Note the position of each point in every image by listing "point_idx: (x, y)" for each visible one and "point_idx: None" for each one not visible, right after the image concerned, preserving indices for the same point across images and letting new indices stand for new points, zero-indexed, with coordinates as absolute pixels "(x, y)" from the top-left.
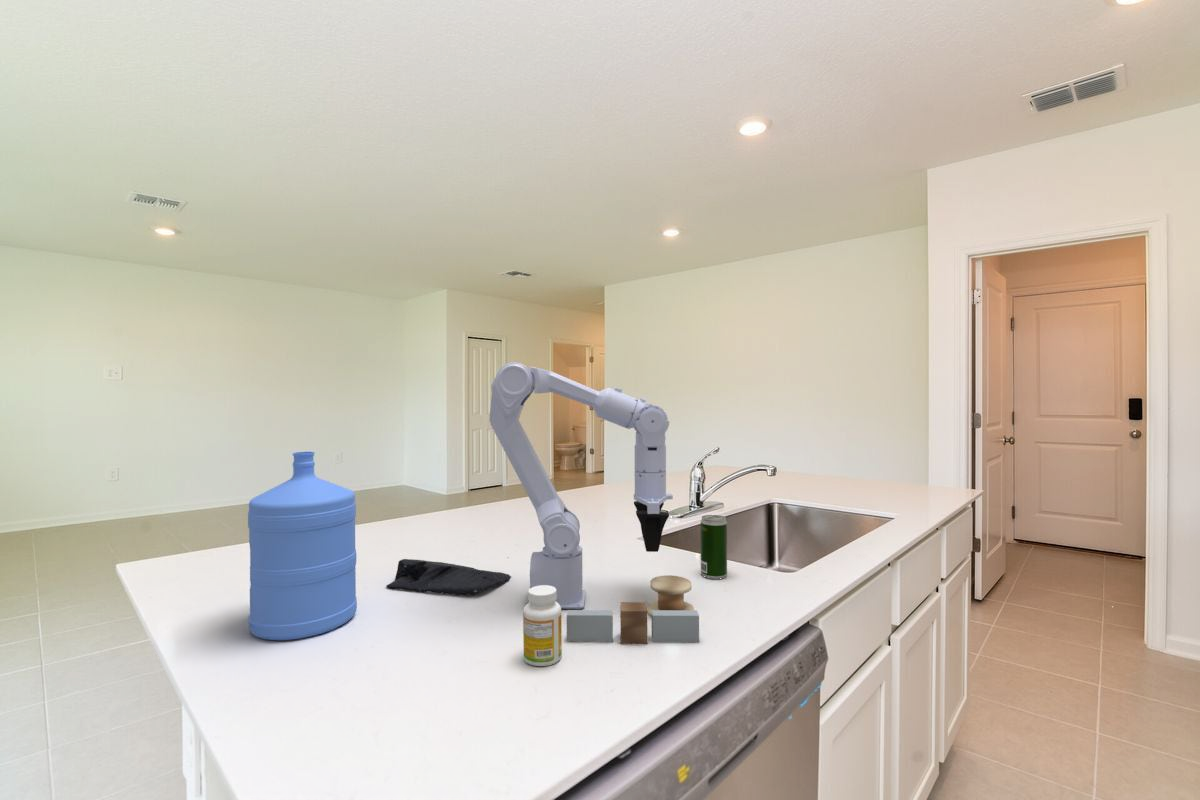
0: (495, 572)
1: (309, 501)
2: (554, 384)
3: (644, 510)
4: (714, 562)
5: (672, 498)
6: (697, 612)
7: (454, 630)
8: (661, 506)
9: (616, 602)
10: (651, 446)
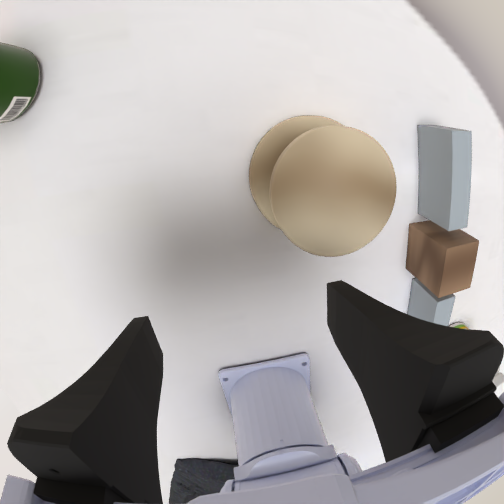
0: (210, 478)
1: None
2: None
3: (142, 466)
4: (17, 71)
5: (332, 479)
6: (459, 131)
7: (367, 436)
8: (86, 428)
9: (260, 305)
10: None
